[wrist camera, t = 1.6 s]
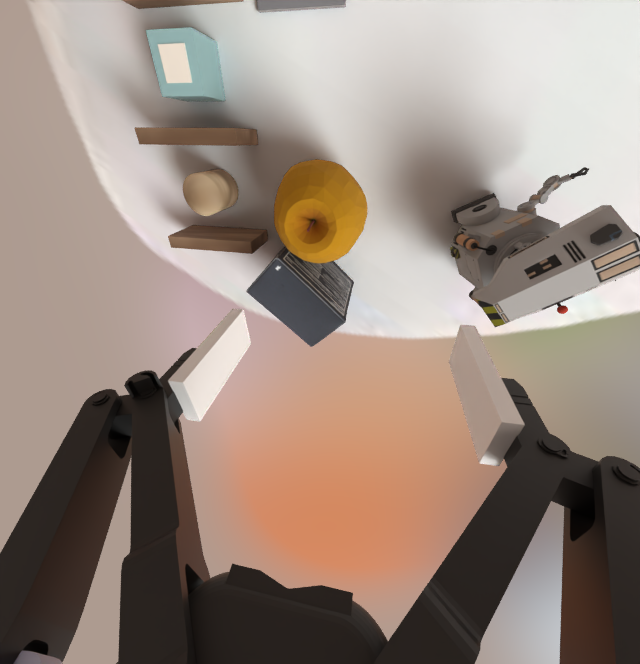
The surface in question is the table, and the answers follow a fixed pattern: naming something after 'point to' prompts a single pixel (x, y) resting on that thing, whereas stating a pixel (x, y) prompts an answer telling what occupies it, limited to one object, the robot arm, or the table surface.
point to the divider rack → (204, 235)
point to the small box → (304, 295)
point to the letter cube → (186, 64)
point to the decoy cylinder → (210, 191)
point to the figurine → (538, 254)
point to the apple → (319, 211)
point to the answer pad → (297, 5)
